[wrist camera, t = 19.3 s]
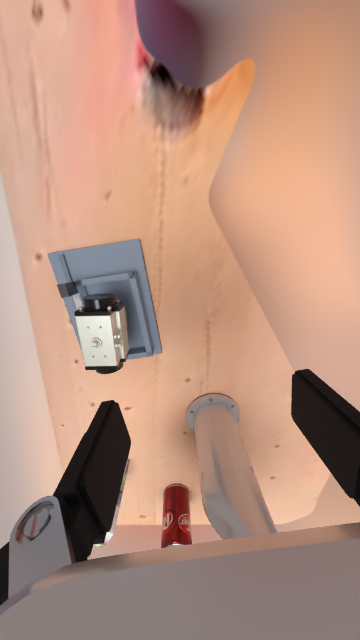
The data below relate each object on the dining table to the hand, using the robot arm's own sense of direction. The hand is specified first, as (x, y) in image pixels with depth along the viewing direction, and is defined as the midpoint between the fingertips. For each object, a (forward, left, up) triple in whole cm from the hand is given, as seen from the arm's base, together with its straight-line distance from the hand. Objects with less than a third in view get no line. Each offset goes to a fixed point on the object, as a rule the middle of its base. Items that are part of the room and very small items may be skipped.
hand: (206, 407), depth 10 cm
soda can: (-57, +10, -28) cm, 64 cm away
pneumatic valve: (-2, +13, -27) cm, 30 cm away
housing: (0, +14, -28) cm, 31 cm away
